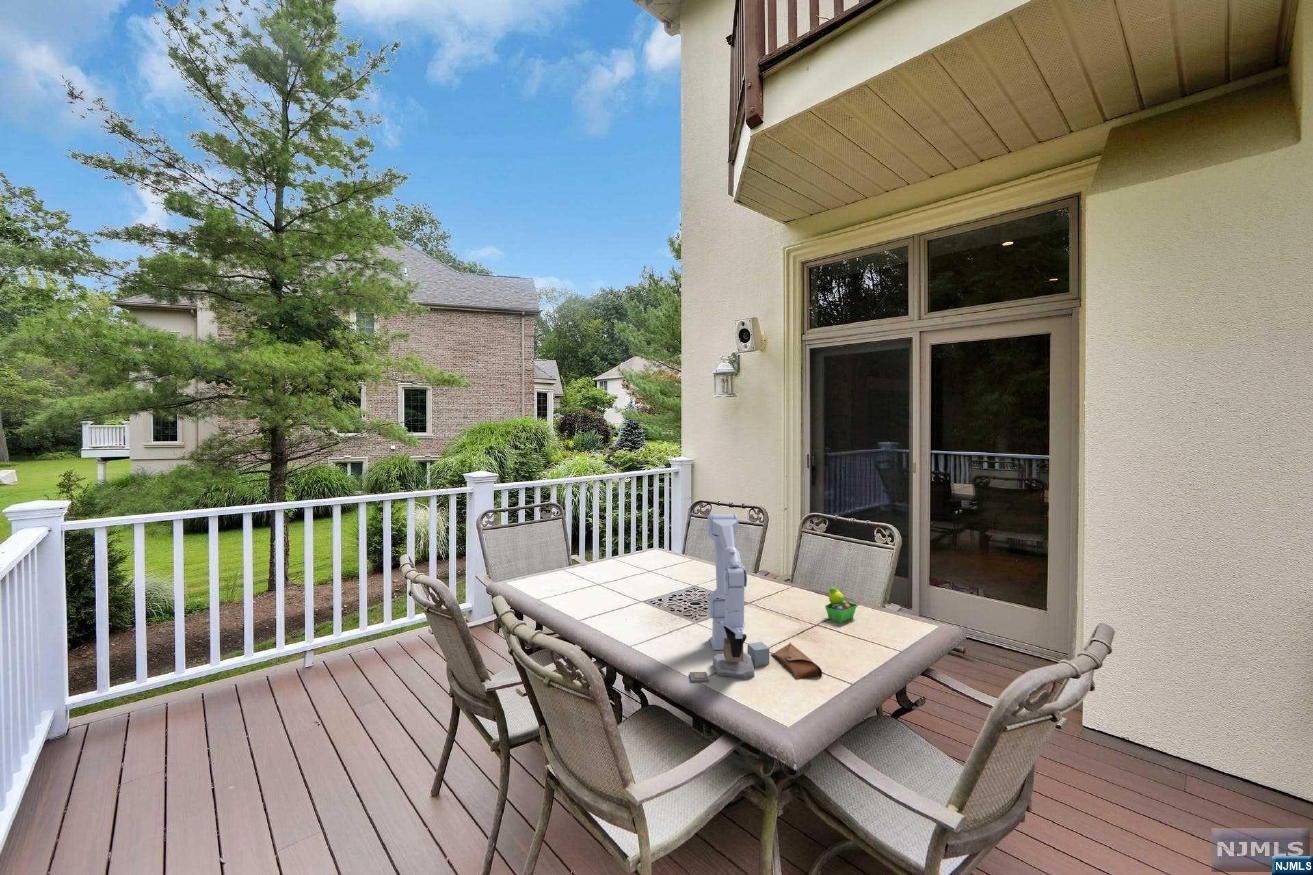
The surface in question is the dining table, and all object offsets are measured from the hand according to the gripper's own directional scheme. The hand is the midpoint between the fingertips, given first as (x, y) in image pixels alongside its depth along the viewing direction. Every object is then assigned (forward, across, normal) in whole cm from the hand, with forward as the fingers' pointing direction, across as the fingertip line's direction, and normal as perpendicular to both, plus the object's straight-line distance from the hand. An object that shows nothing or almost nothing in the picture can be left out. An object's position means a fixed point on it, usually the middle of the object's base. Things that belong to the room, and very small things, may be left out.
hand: (734, 652), depth 156 cm
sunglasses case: (+7, -4, +20) cm, 21 cm away
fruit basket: (+6, -42, +49) cm, 65 cm away
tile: (+6, +3, -11) cm, 13 cm away
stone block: (+6, -1, 0) cm, 7 cm away
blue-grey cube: (+6, -7, +9) cm, 13 cm away
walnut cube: (+2, 0, 0) cm, 2 cm away
